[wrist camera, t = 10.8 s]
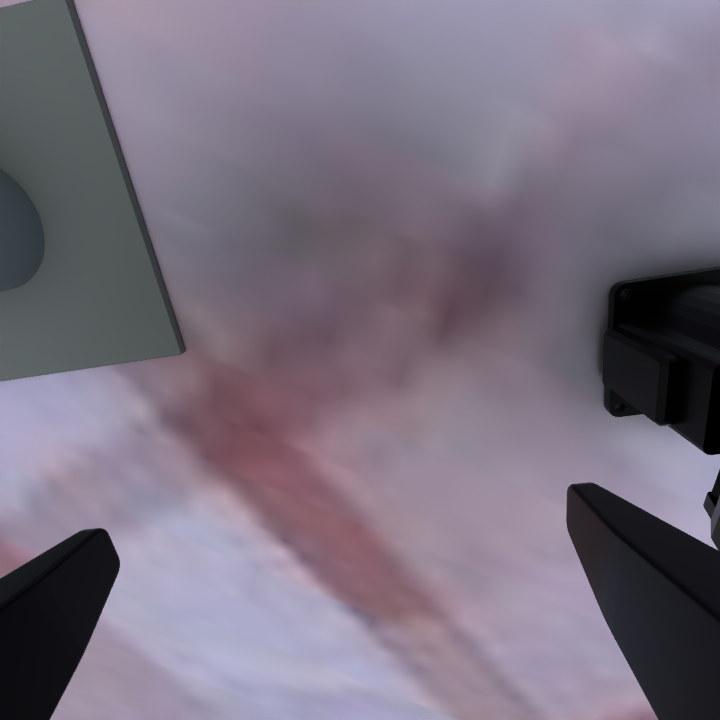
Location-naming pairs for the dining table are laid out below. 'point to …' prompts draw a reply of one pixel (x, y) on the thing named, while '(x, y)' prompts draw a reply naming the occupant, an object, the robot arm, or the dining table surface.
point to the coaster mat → (73, 209)
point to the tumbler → (18, 235)
